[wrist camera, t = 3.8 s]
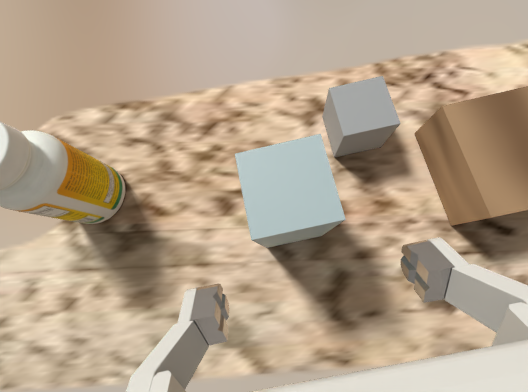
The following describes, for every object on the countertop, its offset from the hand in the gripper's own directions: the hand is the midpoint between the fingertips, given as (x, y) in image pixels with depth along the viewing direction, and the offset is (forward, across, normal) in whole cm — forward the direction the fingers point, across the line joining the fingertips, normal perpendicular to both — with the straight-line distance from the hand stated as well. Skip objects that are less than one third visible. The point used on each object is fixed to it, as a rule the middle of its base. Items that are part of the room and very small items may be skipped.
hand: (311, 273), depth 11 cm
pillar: (+9, 0, +3) cm, 10 cm away
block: (+14, -7, -1) cm, 15 cm away
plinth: (+10, -16, +3) cm, 19 cm away
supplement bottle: (+13, +16, 0) cm, 21 cm away
